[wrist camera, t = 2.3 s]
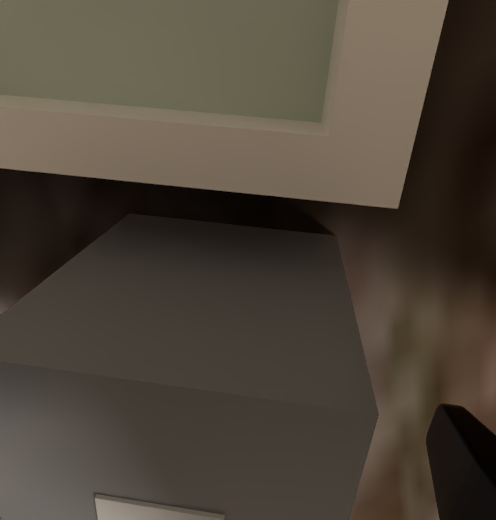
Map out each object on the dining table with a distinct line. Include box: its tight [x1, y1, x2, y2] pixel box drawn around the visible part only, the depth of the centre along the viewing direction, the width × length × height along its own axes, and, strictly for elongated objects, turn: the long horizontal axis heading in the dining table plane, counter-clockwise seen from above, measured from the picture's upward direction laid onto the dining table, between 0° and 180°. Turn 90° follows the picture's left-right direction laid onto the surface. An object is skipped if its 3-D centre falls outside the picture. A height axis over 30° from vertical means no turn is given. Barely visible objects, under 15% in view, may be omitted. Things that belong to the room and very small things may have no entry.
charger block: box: [0, 214, 379, 520], centre depth 8 cm, size 5×5×6 cm
